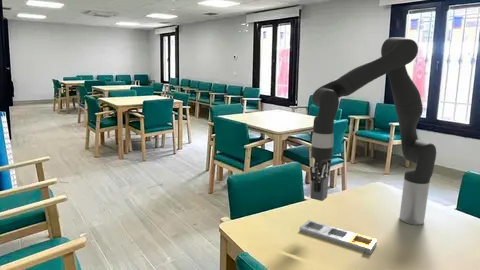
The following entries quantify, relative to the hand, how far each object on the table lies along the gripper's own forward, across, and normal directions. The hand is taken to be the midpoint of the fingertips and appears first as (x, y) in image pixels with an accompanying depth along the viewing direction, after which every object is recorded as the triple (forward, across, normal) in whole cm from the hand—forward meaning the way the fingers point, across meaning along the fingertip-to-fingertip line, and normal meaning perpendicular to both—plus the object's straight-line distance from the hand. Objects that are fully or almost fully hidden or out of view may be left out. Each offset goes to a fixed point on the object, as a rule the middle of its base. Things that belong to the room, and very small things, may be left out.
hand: (319, 189), depth 133 cm
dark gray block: (+3, 0, 0) cm, 3 cm away
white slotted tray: (+17, 0, -8) cm, 19 cm away
